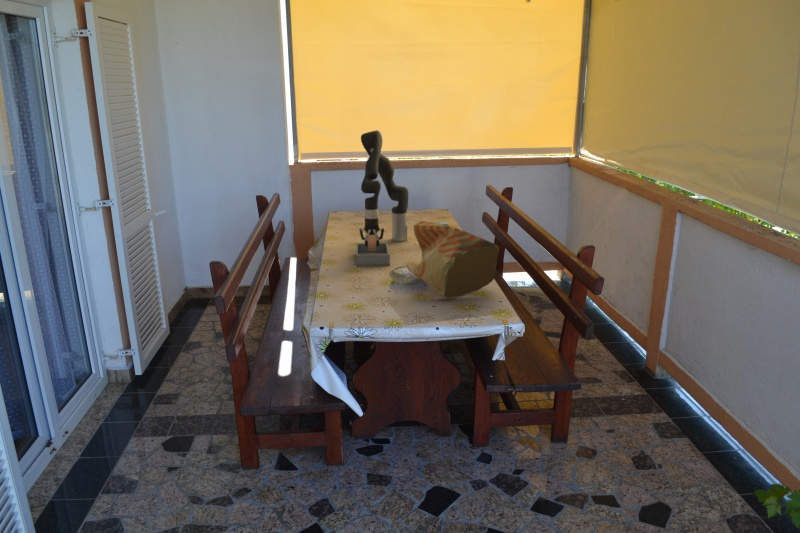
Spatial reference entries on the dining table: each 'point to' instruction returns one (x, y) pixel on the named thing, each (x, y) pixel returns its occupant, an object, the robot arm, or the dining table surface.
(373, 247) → the jar
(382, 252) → the tote
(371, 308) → the dining table surface
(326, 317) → the dining table surface
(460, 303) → the dining table surface
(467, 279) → the shopping bag
